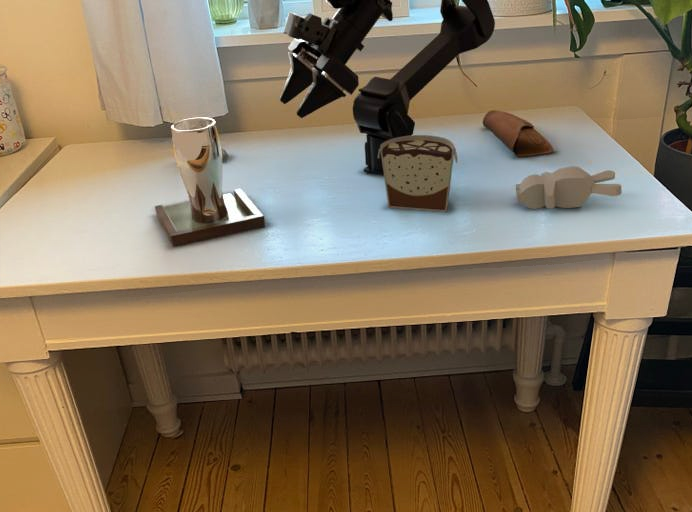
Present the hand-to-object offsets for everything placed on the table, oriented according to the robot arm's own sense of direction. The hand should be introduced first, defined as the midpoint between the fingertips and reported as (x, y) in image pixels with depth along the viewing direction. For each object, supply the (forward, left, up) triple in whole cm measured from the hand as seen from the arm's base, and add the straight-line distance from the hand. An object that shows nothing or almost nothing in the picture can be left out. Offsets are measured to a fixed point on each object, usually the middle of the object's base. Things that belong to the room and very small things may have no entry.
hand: (290, 109), depth 120 cm
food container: (-22, -2, -14) cm, 26 cm away
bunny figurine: (-43, -9, -14) cm, 46 cm away
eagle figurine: (+26, -8, -14) cm, 31 cm away
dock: (+7, +16, -14) cm, 22 cm away
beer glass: (+7, +16, -14) cm, 22 cm away
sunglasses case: (-27, -35, -14) cm, 47 cm away
